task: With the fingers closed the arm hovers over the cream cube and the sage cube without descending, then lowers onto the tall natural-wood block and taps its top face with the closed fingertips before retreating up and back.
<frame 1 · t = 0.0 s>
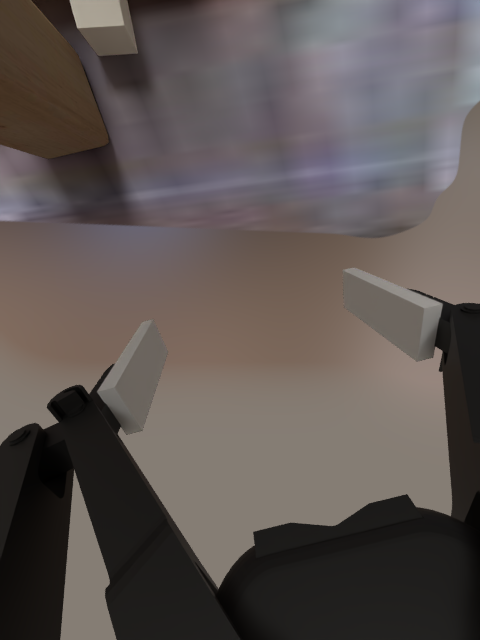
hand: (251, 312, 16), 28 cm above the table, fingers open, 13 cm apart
wooden block: (62, 110, 31), on the table
cream cube: (111, 26, 28), on the table
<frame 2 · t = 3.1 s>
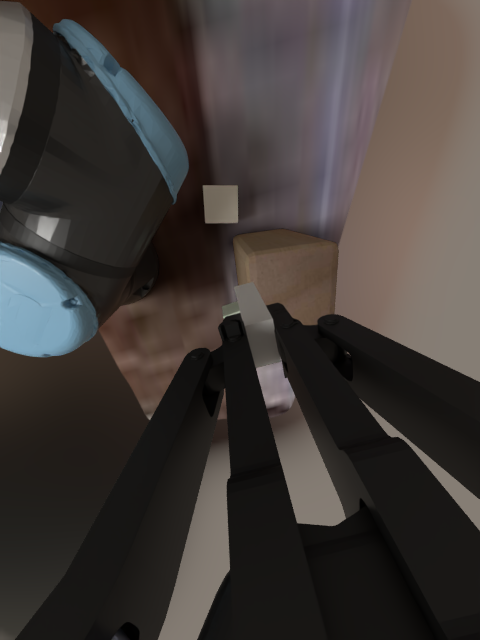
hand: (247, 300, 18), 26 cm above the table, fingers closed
sage cube: (237, 312, 47), on the table
wooden block: (261, 259, 43), on the table
cream cube: (220, 205, 38), on the table
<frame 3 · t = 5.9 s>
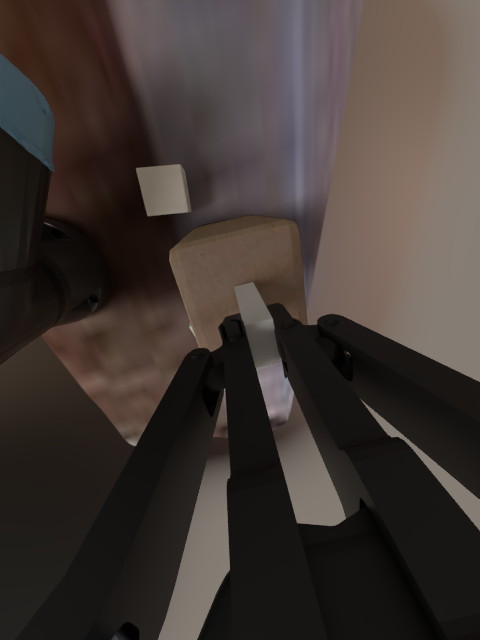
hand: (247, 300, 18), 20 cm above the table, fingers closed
wooden block: (230, 254, 36), on the table, touching gripper
cream cube: (170, 193, 32), on the table
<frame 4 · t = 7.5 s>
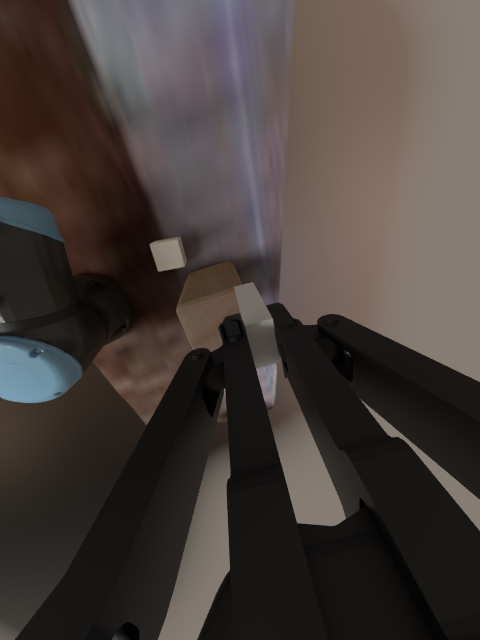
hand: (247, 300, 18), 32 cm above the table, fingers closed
wooden block: (216, 286, 51), on the table
cream cube: (171, 251, 46), on the table
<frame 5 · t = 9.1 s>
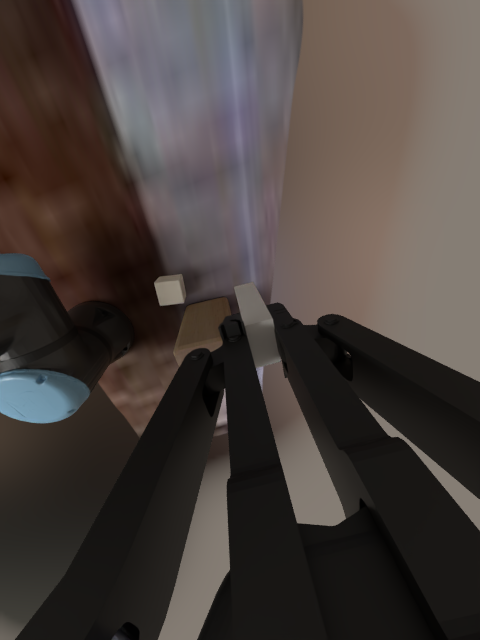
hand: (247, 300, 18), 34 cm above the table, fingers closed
wooden block: (211, 317, 56), on the table
cream cube: (173, 286, 52), on the table
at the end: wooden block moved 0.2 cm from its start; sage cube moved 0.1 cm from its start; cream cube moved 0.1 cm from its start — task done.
